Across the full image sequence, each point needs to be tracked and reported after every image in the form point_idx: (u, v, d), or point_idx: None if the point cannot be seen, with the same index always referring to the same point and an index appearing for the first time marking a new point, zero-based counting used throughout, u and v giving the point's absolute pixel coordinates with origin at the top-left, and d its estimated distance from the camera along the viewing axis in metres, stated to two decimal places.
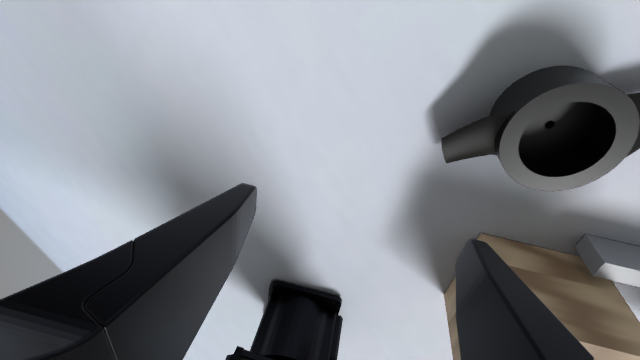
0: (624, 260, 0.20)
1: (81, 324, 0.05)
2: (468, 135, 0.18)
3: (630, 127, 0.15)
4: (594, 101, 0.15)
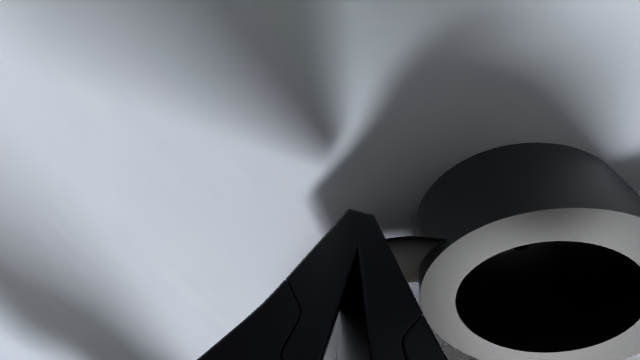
0: None
1: None
2: None
3: None
4: (609, 244, 0.07)
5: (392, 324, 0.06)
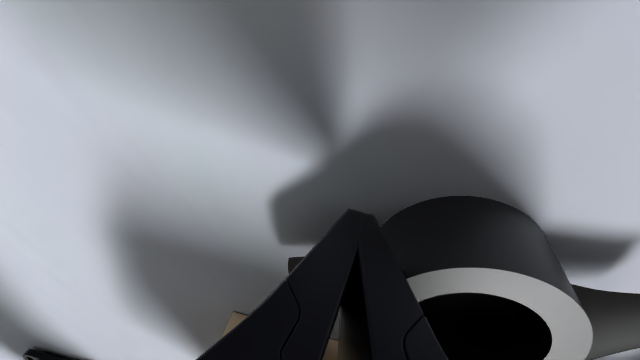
0: None
1: None
2: None
3: (571, 355, 0.09)
4: (532, 306, 0.08)
5: (393, 324, 0.06)
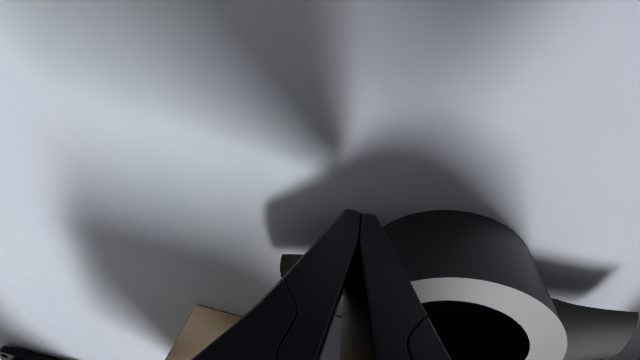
0: None
1: None
2: None
3: None
4: (515, 317, 0.09)
5: (396, 325, 0.06)
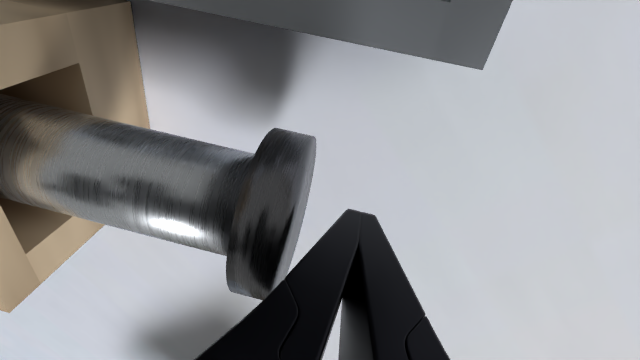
0: None
1: None
2: None
3: None
4: None
5: (395, 325, 0.06)
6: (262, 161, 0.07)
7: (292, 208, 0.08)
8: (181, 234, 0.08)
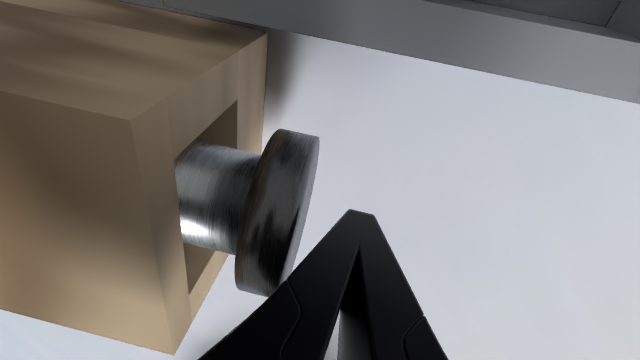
0: None
1: None
2: None
3: None
4: None
5: (393, 324, 0.06)
6: (269, 161, 0.07)
7: (298, 207, 0.08)
8: (188, 233, 0.08)
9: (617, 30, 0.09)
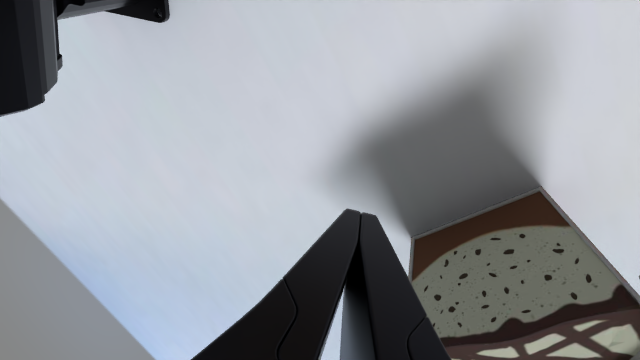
0: None
1: None
2: None
3: None
4: None
5: (396, 325, 0.06)
6: None
7: None
8: None
9: None
